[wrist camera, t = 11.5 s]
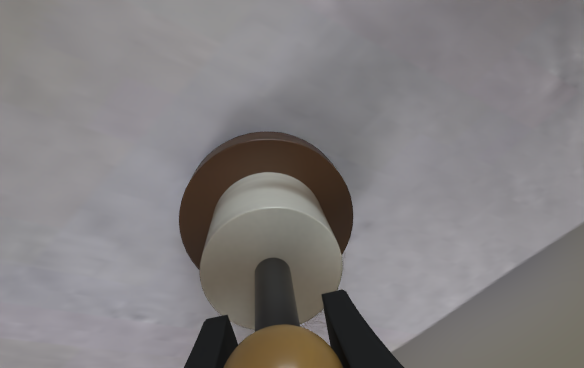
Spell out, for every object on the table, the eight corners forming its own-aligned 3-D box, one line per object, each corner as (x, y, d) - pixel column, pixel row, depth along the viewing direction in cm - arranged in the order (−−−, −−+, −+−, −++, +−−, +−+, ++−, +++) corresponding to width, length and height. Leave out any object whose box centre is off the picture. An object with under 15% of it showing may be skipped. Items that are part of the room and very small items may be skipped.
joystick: (-42, 348, 5) (143, 631, 7) (503, 228, 5) (496, 542, 7) (164, 150, 15) (209, 292, 18) (332, 116, 16) (353, 260, 18)
